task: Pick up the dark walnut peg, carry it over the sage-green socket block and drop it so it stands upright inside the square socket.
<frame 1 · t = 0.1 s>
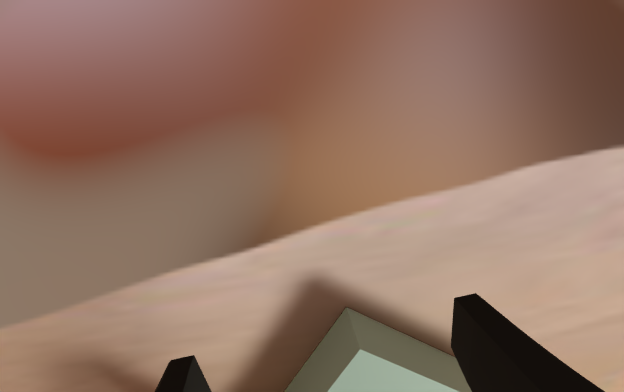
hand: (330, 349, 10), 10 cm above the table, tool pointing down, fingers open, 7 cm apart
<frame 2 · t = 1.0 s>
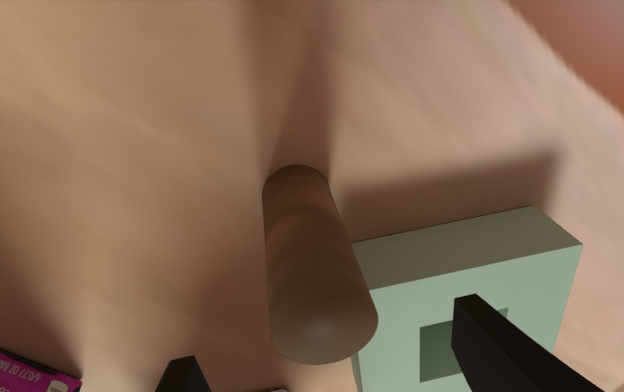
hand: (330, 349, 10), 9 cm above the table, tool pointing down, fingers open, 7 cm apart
walnut peg: (296, 195, 18), on the table
socket block: (433, 298, 23), on the table
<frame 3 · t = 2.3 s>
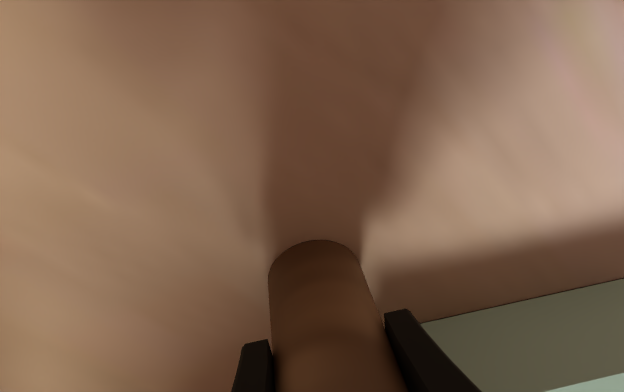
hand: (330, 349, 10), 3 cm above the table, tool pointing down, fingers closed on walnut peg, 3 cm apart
walnut peg: (314, 278, 13), on the table, touching gripper
socket block: (485, 387, 18), on the table
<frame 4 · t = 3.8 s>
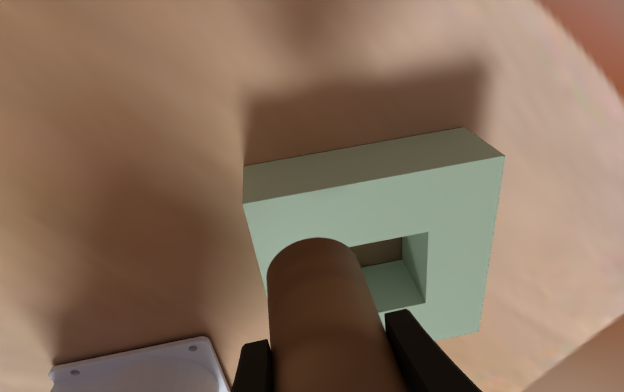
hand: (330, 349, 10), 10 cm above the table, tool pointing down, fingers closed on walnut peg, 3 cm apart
walnut peg: (313, 275, 13), point 7 cm above the table, touching gripper
socket block: (362, 236, 21), on the table
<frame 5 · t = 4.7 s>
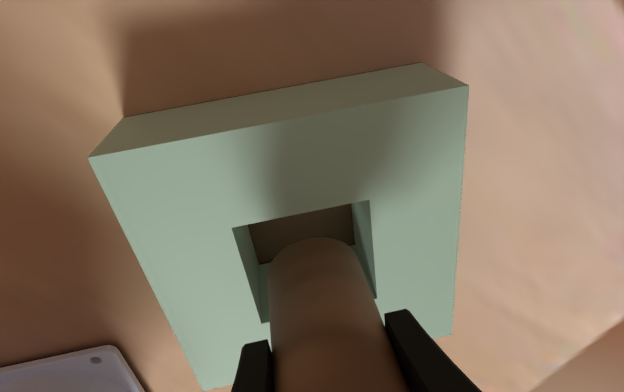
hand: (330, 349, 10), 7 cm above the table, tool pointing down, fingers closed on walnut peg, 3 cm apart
walnut peg: (314, 274, 13), point 4 cm above the table, touching gripper
socket block: (299, 214, 17), on the table
when the fingers open (5 cm above the table, at t = 5.4 s): walnut peg drops 2 cm, resting in socket block.
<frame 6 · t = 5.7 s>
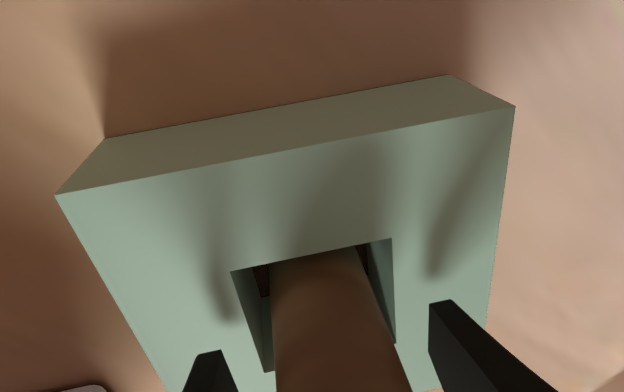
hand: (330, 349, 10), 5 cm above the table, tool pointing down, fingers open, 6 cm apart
walnut peg: (307, 239, 15), resting in socket block
socket block: (307, 243, 15), on the table
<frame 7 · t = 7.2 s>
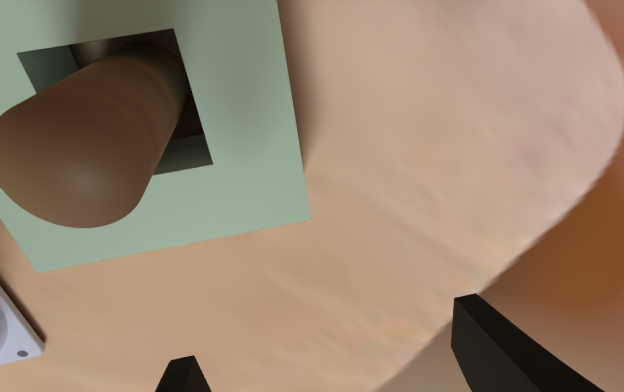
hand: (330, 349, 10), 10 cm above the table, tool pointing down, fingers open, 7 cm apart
walnut peg: (148, 84, 15), resting in socket block
socket block: (148, 88, 15), on the table
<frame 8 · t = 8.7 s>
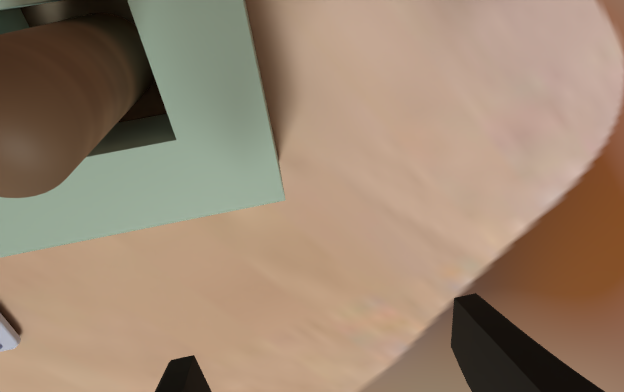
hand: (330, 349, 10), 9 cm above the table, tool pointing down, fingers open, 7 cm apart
walnut peg: (112, 58, 15), resting in socket block
socket block: (112, 63, 15), on the table
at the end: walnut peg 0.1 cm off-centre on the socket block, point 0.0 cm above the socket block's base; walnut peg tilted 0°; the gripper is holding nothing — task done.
